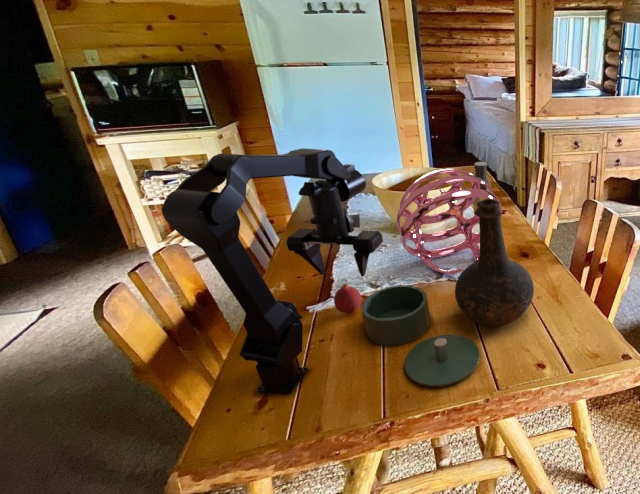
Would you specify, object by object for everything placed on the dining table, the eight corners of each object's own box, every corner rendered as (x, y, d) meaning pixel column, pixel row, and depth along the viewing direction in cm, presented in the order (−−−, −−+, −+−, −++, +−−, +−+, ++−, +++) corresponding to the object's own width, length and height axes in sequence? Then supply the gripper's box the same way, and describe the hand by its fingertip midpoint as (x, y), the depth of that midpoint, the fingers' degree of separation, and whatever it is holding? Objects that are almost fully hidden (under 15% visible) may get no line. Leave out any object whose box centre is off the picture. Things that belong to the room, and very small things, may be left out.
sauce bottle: (471, 217, 153) (467, 161, 144) (489, 214, 155) (485, 159, 146) (477, 224, 147) (473, 166, 138) (495, 221, 150) (492, 164, 141)
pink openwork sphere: (518, 217, 103) (475, 133, 114) (403, 263, 98) (369, 171, 108) (520, 263, 129) (484, 192, 139) (429, 303, 123) (399, 225, 133)
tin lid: (471, 391, 81) (469, 370, 79) (394, 387, 82) (390, 366, 80) (485, 339, 94) (484, 320, 92) (418, 337, 95) (415, 318, 93)
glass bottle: (520, 286, 113) (516, 182, 100) (546, 326, 98) (546, 210, 85) (450, 301, 107) (438, 192, 94) (467, 346, 92) (454, 224, 79)
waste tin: (419, 347, 92) (415, 321, 89) (356, 344, 93) (350, 319, 90) (437, 309, 104) (434, 285, 101) (381, 307, 105) (376, 284, 102)
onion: (355, 322, 100) (347, 292, 96) (332, 319, 101) (324, 289, 97) (368, 307, 105) (362, 278, 101) (347, 304, 106) (340, 276, 102)
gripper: (386, 196, 97) (397, 258, 104) (305, 195, 98) (321, 256, 105) (365, 216, 87) (378, 283, 94) (275, 214, 88) (295, 280, 96)
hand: (343, 274), depth 98 cm, fingers open, 9 cm apart
